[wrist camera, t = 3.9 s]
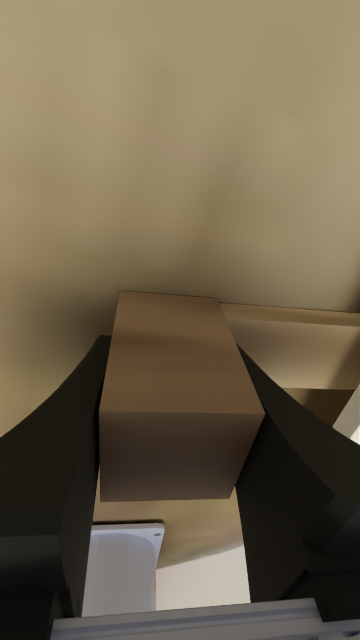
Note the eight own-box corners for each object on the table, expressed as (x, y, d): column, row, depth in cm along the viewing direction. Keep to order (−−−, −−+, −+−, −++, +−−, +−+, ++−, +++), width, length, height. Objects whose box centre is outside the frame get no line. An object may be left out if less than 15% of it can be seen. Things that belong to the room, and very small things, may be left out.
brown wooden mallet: (405, 378, 16) (522, 490, 11) (117, 366, 14) (100, 502, 9) (450, 316, 14) (620, 420, 9) (119, 290, 12) (99, 411, 7)
